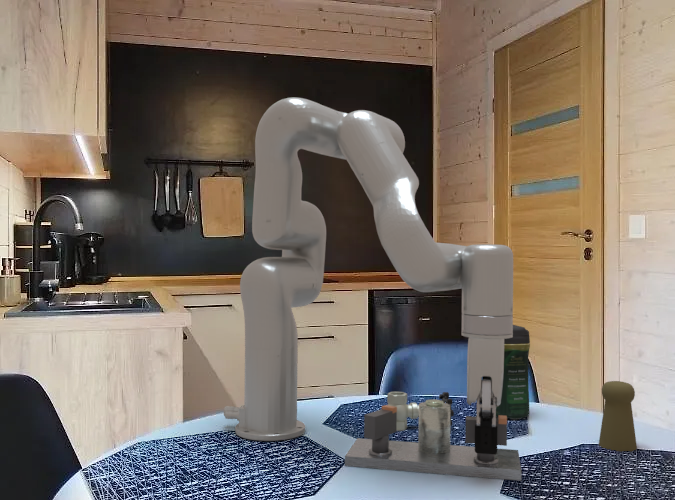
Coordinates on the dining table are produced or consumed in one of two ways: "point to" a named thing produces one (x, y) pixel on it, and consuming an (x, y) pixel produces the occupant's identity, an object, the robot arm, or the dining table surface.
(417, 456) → the plate
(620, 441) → the cork
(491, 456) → the knob
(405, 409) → the valve
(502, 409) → the coffee jar
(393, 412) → the knob
